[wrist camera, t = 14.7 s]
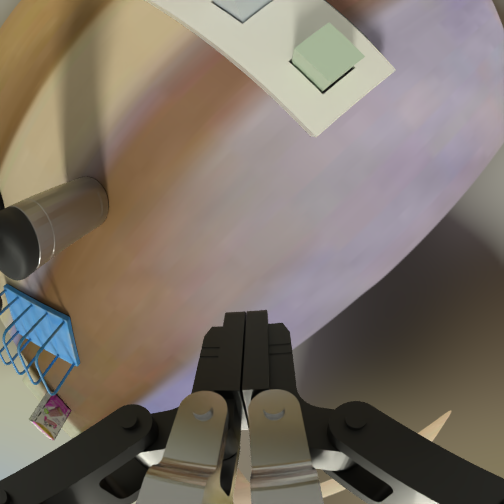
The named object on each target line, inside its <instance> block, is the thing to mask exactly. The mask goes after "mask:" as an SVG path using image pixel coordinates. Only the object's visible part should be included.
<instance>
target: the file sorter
mask: <svg viewBox="0 0 504 504" xmlns="http://www.w3.org/2000/svg"><path fill="white" fill-rule="evenodd" d="M4 293H5V295H6V298H7V302H8V305H7V306H6V307H5V308H4V309H3V310H2V311H1V312H0V315H1V314H2V313H3V312H4V311H5V310H6V309H7V308H8V307H9V309H10V312H11V315H12V318H13V322H12V323H11V324H10V325H9V326H8V328H7V329H6V330H5V332H4V334H3V344H4V347H3V348H2V349H1V350H0V357H1V359H2V361H3V363H4V364H6V365H10V364H11V363H12V364H13V366H14V368H15V370H16V372H17V373H18V374H19V375H23V374H24V373H25V372H26V373H27V375H28V377H29V379H30V381H31V382H32V384H34V385H37V384H39V383H40V382H41V380H42V381H43V383H44V385H45V387H46V389H47V391H48V393H49V394H50V395H52V396H53V395H55V394H56V393H57V392H58V390H59V389H60V387H61V385H62V384H63V382H64V381H65V379H66V378H67V376H68V375H69V373H70V372H71V370H72V368H73V367H74V365H75V366H77V367H78V365H79V364H80V360H79V357H78V353H77V348H76V344H75V340H74V335H73V330H72V325H71V320H70V317H69V316H67V315H65V314H63V313H60V312H58V311H56V310H54V309H52V308H50V307H48V306H46V305H44V304H43V303H41V302H39V301H37V300H35V299H33V298H31V297H29V296H28V295H26V294H24V293H22V292H20V291H19V290H17V289H15V288H13V287H12V286H10V285H8V284H6V285H5V286H4V291H2V292H1V293H0V296H1V295H3V294H4ZM14 324H15V327H16V330H17V332H16V333H15V334H14V335H13V336H12V338H11V339H10V340H9V341H8V342H7V343H5V335H6V333H7V332H8V330H10V328H11V327H12V326H13V325H14ZM18 333H19V334H21V335H22V336H23V337H22V338H21V340H20V341H19V343H18V347H17V352H18V353H17V354H16V355H15V356H14V357H13V358H12V357H11V355H10V353H9V351H8V348H7V345H8V344H9V343H10V342H11V341H12V340H13V338H14V337H15V336H16V335H17V334H18ZM25 338H27V339H29V340H28V341H27V342H26V343H25V344H24V346H23V347H22V348H21V349H20V346H21V343H22V342H23V340H24V339H25ZM30 341H32V342H33V343H35V344H37V345H38V346H40V347H41V348H40V349H39V350H38V352H37V354H36V356H35V357H34V358H33V359H32V361H31V362H30V363H29V364H28V366H27V367H26V365H25V363H24V361H23V358H22V356H21V354H20V352H21V351H22V350H23V349H24V348H25V347H26V345H27V344H28V343H29V342H30ZM4 349H6V351H7V354H8V356H9V358H10V360H11V361H10V362H8V363H6V362H5V361H4V359H3V357H2V355H1V352H2V351H3V350H4ZM43 349H45V350H47V351H49V352H50V353H52V354H54V355H56V357H55V358H54V360H53V361H52V362H51V364H50V365H49V367H48V368H47V369H46V371H45V372H44V373H43V375H42V373H41V371H40V369H39V366H38V357H39V354H40V353H41V352H42V350H43ZM18 355H19V357H20V360H21V362H22V364H23V366H24V368H25V370H24V371H23V372H21V373H19V372H18V370H17V368H16V366H15V364H14V362H13V361H14V360H15V358H16V357H17V356H18ZM58 357H60V358H61V359H63V360H65V361H67V362H69V363H71V364H72V366H71V367H70V369H69V370H68V372H67V373H66V375H65V376H64V378H63V379H62V381H61V382H60V384H59V385H58V387H57V388H56V390H55V391H54V392H53V393H51V392H50V390H49V388H48V386H47V384H46V382H45V380H44V378H43V377H44V376H45V375H46V373H47V372H48V370H49V369H50V368H51V366H52V365H53V364H54V362H55V361H56V360H57V358H58ZM34 361H35V365H36V368H37V370H38V372H39V375H40V379H39V380H38V381H37V382H33V380H32V378H31V376H30V374H29V372H28V368H29V367H30V366H31V364H32V363H33V362H34Z"/></svg>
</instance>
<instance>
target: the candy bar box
mask: <svg viewBox="0 0 504 504" xmlns="http://www.w3.org/2000/svg"><path fill="white" fill-rule="evenodd" d="M50 392H51V393H53V391H50ZM70 412H71V410H70V409H69V408H68V407H67V406H66V405H65V404H64V402H63V401H62V400H61V399H60V398H59V397H58V396H57V395H56V394H55V395H53V396H52V395H50V394H49V393H48V391H47V393H46V394H45V396H44V397H43V399H42V400H41V402H40V403H39V405H38V406H37V408H36V409H35V411H34V412H33V414H32V415H31V417H30V418H29V420H30V421H31V422H32V423H33V424H34V425H35V426H36V427H37V428H38V429H39V430H40V431H41V432H42V433H43V434H44V435H45V436H46V437H47V438H49V439H51V440H55V438H56V436H57V435H58V433H59V431H60V429H61V428H62V426H63V424H64V423H65V421H66V419H67V417H68V416H69V414H70Z"/></svg>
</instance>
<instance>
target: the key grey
mask: <svg viewBox="0 0 504 504" xmlns="http://www.w3.org/2000/svg"><path fill="white" fill-rule="evenodd" d="M213 1H214V3H215V5H217V6H218V7H220V8H221V9H223V10H224V11H226V12H227V13H229V14H230V15H232V16H233V17H234V18H236V19H237V20H239V21H240V22H241V23H244V22H246V21H247V20H248V19H249V18H251V17H252V16H253V15H254V14H256V13H257V12H258V11H260V10H261V9H262V8H264V7H265V6H266V5H268V4H269V3H270V2H272V1H273V0H213Z"/></svg>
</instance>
